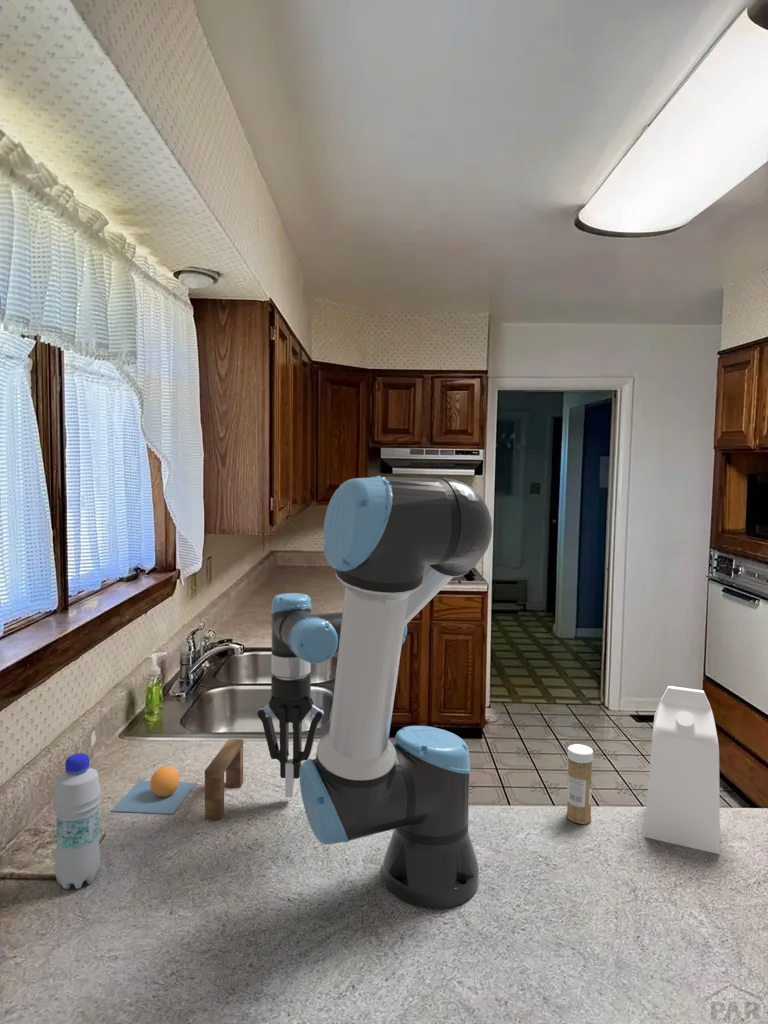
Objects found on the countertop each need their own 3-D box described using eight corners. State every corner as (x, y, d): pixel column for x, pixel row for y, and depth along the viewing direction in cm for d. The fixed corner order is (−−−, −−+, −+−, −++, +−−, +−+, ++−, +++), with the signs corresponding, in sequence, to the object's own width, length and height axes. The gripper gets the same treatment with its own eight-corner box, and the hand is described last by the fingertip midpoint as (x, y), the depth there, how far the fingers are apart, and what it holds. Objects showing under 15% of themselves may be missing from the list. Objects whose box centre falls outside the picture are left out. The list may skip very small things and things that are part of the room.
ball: (139, 786, 122) (158, 807, 122) (158, 769, 121) (177, 790, 121) (152, 772, 128) (170, 793, 128) (171, 756, 127) (189, 776, 127)
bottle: (111, 872, 100) (110, 749, 99) (78, 898, 94) (76, 767, 93) (78, 863, 102) (77, 743, 101) (44, 888, 96) (42, 760, 95)
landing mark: (173, 814, 118) (173, 813, 118) (111, 811, 118) (111, 810, 118) (196, 783, 130) (196, 782, 130) (139, 781, 130) (139, 780, 130)
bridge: (243, 782, 130) (243, 739, 130) (220, 820, 116) (220, 771, 115) (229, 782, 130) (228, 738, 130) (204, 819, 116) (204, 770, 115)
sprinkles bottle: (596, 820, 117) (598, 750, 117) (580, 827, 115) (582, 755, 114) (576, 809, 121) (578, 741, 120) (560, 816, 118) (562, 746, 118)
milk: (715, 821, 117) (721, 684, 116) (719, 854, 107) (725, 704, 106) (646, 806, 122) (650, 675, 121) (643, 836, 112) (648, 693, 111)
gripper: (327, 669, 124) (326, 785, 125) (262, 667, 125) (262, 782, 126) (321, 681, 117) (320, 804, 118) (252, 679, 118) (252, 801, 119)
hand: (290, 793), depth 122 cm, fingers closed
